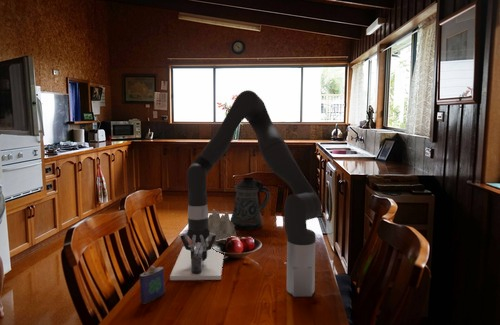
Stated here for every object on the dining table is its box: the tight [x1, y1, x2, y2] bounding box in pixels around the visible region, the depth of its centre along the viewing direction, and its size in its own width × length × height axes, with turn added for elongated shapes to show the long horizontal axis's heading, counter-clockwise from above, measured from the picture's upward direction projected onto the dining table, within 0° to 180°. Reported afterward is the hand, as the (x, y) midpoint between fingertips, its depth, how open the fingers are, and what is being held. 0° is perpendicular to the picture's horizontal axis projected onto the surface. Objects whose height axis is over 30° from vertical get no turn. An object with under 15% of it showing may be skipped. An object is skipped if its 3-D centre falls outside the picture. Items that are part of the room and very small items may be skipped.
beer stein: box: [230, 177, 271, 231], centre depth 202 cm, size 16×19×25 cm
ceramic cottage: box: [207, 208, 237, 242], centre depth 186 cm, size 16×16×15 cm
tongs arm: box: [192, 242, 202, 258], centre depth 154 cm, size 22×2×5 cm, turn 0°
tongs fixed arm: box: [191, 238, 209, 274], centre depth 153 cm, size 26×4×5 cm, turn 1°
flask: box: [139, 265, 166, 305], centre depth 125 cm, size 9×3×11 cm, turn 144°
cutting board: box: [169, 245, 225, 281], centre depth 154 cm, size 30×18×2 cm, turn 1°
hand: (199, 259), depth 150 cm, fingers open, 3 cm apart
